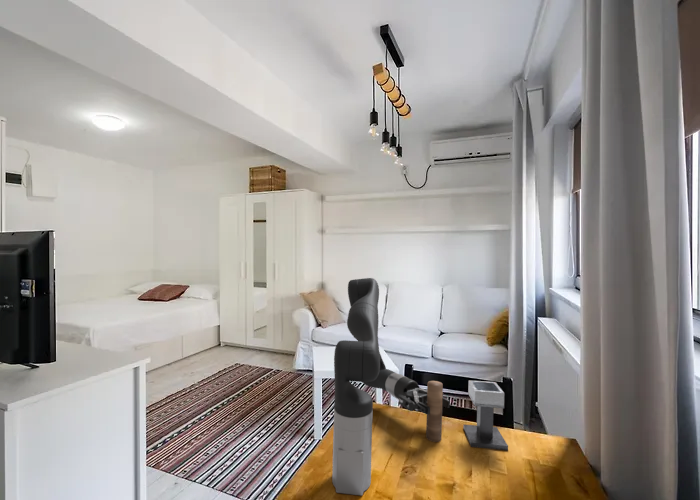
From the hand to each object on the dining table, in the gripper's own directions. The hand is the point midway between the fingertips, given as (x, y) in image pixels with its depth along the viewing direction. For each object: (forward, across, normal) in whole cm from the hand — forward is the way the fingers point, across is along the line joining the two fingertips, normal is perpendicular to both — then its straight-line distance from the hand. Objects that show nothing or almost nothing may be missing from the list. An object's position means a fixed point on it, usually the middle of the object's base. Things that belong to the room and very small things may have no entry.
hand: (439, 407), depth 96 cm
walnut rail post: (-2, 0, +10) cm, 10 cm away
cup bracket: (+6, +13, +10) cm, 17 cm away
